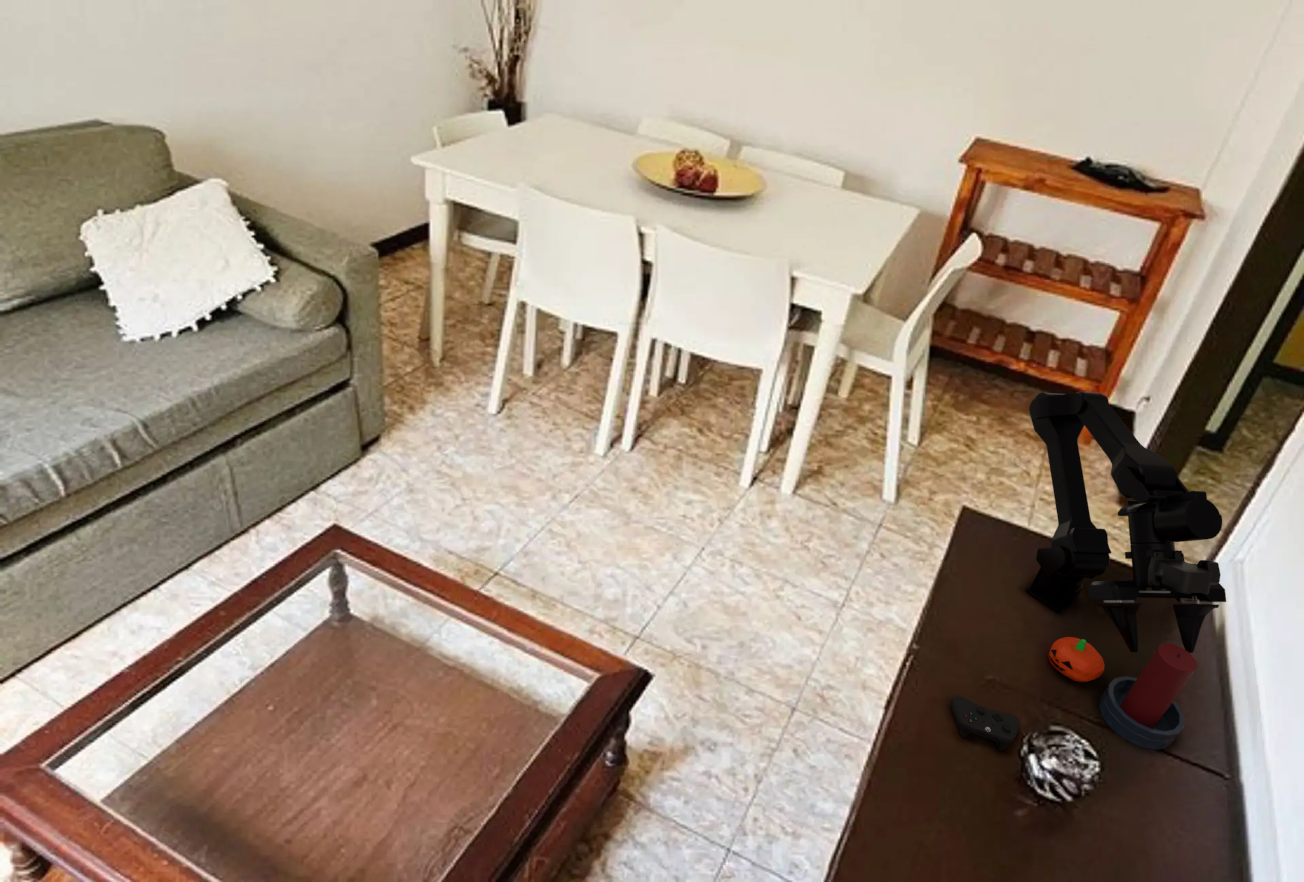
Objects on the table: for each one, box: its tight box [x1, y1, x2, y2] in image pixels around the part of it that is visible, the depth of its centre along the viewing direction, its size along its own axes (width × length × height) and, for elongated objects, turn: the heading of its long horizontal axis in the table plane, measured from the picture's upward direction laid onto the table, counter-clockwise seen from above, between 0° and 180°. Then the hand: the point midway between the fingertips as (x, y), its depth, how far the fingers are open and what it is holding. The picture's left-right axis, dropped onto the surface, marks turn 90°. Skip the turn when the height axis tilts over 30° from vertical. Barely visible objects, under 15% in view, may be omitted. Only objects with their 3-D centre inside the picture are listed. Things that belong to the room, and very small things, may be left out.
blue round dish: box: [1098, 675, 1185, 751], centre depth 130 cm, size 11×11×4 cm
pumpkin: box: [1048, 636, 1105, 683], centre depth 136 cm, size 7×8×6 cm
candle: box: [1119, 642, 1198, 729], centre depth 127 cm, size 5×5×14 cm
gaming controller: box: [950, 695, 1020, 752], centre depth 124 cm, size 10×5×6 cm
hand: (1162, 652), depth 126 cm, fingers open, 9 cm apart
